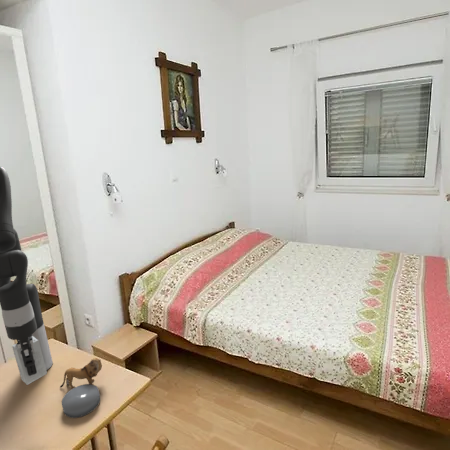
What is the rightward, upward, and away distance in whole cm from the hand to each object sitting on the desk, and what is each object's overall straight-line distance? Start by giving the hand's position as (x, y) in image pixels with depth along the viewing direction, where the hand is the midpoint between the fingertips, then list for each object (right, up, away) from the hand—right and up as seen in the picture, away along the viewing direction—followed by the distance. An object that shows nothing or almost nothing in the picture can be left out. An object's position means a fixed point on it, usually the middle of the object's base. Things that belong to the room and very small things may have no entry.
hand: (32, 368), depth 103 cm
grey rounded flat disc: (+12, -14, +7) cm, 20 cm away
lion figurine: (+9, -12, +17) cm, 22 cm away
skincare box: (0, -3, +1) cm, 3 cm away
